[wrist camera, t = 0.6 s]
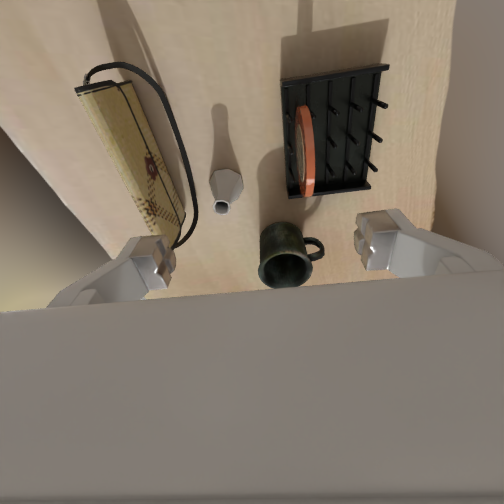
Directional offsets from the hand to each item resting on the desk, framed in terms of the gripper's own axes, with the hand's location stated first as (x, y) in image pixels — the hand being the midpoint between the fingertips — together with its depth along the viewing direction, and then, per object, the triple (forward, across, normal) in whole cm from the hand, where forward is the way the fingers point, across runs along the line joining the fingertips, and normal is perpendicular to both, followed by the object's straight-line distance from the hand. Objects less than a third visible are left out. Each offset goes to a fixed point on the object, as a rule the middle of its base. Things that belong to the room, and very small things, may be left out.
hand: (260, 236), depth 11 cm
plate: (+34, -7, +8) cm, 36 cm away
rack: (+43, -12, +8) cm, 45 cm away
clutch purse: (+43, +18, +7) cm, 47 cm away
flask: (+43, +8, +15) cm, 46 cm away
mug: (+43, -4, +30) cm, 52 cm away
